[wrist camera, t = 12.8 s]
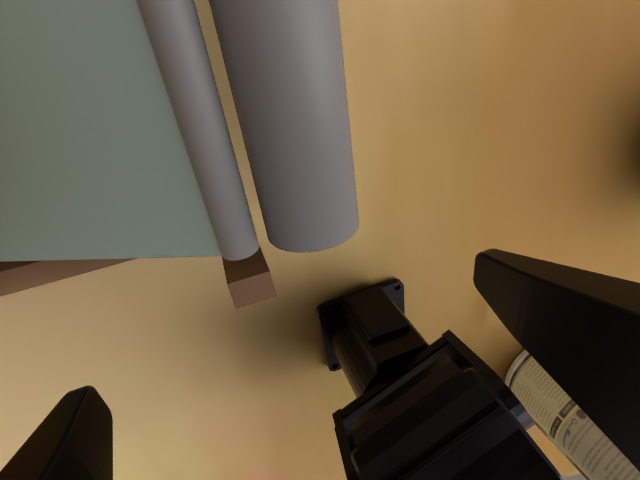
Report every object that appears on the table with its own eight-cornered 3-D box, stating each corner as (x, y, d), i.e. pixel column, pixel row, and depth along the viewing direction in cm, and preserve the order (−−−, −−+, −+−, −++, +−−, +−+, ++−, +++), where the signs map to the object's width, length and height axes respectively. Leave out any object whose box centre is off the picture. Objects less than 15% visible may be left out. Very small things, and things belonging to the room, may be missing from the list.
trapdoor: (362, 203, 15) (353, 257, 12) (14, 221, 19) (-64, 266, 16) (297, -521, 7) (217, -967, 4) (-283, -237, 11) (-569, -340, 8)
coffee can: (596, 318, 39) (777, 439, 27) (560, 387, 43) (701, 515, 32) (521, 335, 36) (689, 480, 24) (490, 407, 40) (619, 558, 28)
